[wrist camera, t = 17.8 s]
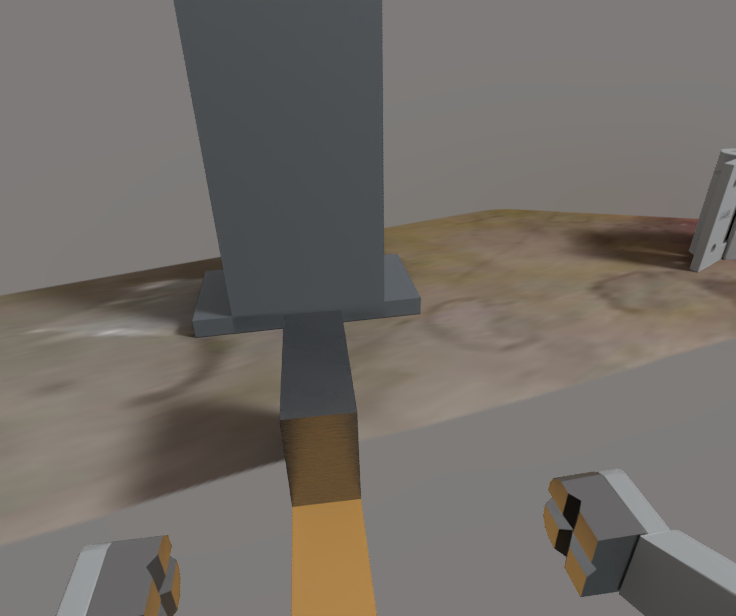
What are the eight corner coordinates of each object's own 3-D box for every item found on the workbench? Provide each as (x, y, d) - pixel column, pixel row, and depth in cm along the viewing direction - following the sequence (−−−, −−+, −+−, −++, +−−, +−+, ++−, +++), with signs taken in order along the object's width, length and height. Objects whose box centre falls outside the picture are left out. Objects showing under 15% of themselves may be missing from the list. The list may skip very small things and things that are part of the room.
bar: (299, 836, 15) (267, 713, 11) (298, 429, 30) (283, 314, 26) (398, 819, 15) (401, 693, 11) (347, 424, 30) (341, 310, 26)
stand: (195, 337, 39) (81, -156, 25) (208, 285, 47) (126, -114, 32) (420, 313, 42) (435, -150, 27) (396, 267, 49) (399, -112, 35)
